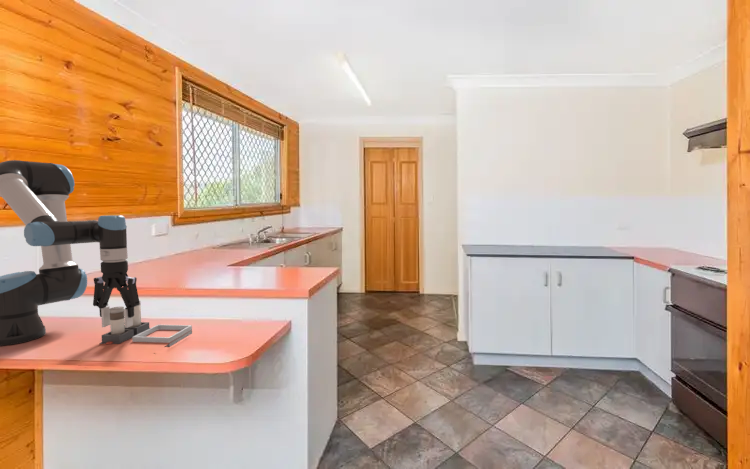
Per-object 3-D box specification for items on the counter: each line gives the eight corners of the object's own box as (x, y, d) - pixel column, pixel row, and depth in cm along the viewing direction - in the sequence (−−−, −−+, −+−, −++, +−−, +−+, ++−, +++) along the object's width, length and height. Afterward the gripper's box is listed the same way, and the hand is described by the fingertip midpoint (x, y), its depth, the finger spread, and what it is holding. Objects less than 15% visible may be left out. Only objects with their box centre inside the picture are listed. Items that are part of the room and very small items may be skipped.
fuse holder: (98, 348, 120) (97, 336, 120) (134, 331, 137) (133, 321, 136) (118, 348, 120) (117, 337, 120) (151, 332, 136) (151, 321, 136)
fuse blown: (107, 341, 123) (106, 309, 122) (117, 337, 127) (115, 306, 126) (119, 341, 122) (117, 309, 122) (128, 337, 126) (126, 306, 126)
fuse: (125, 333, 131) (124, 303, 130) (134, 329, 135) (132, 300, 134) (136, 333, 130) (135, 303, 129) (144, 329, 134) (143, 300, 134)
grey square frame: (132, 345, 123) (132, 336, 122) (158, 332, 136) (158, 324, 135) (169, 346, 122) (169, 338, 121) (192, 333, 135) (191, 325, 135)
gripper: (76, 261, 119) (80, 329, 121) (134, 262, 118) (137, 330, 120) (95, 258, 127) (98, 322, 129) (150, 259, 126) (153, 323, 127)
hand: (117, 326), depth 124 cm, fingers open, 8 cm apart
